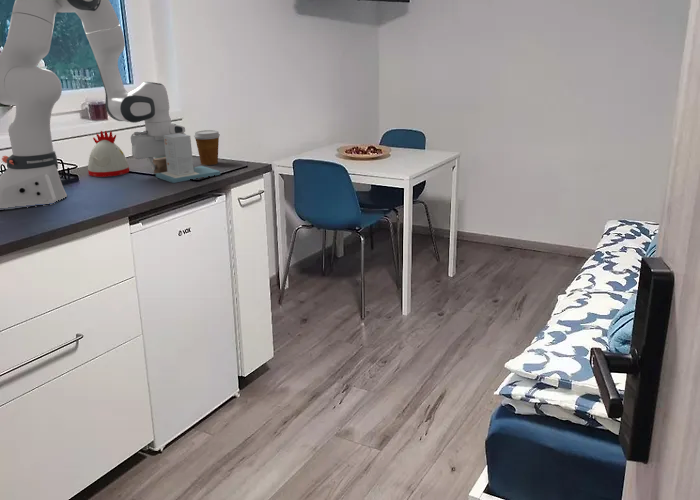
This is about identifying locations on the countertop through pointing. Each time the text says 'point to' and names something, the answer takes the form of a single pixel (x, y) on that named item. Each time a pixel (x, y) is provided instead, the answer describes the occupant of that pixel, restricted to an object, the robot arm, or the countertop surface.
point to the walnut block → (160, 165)
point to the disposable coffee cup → (207, 146)
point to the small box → (178, 154)
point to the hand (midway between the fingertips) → (163, 168)
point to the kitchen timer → (107, 158)
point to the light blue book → (198, 173)
